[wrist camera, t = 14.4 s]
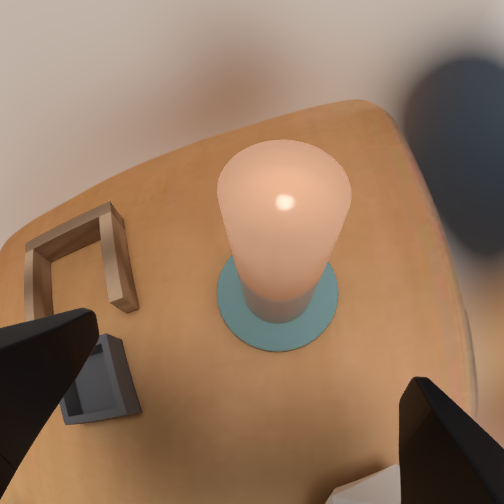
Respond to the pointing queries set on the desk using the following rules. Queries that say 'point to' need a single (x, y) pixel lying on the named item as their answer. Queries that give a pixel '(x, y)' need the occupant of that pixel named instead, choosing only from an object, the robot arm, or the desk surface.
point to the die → (370, 489)
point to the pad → (270, 333)
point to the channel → (69, 240)
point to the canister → (282, 222)
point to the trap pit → (101, 386)
